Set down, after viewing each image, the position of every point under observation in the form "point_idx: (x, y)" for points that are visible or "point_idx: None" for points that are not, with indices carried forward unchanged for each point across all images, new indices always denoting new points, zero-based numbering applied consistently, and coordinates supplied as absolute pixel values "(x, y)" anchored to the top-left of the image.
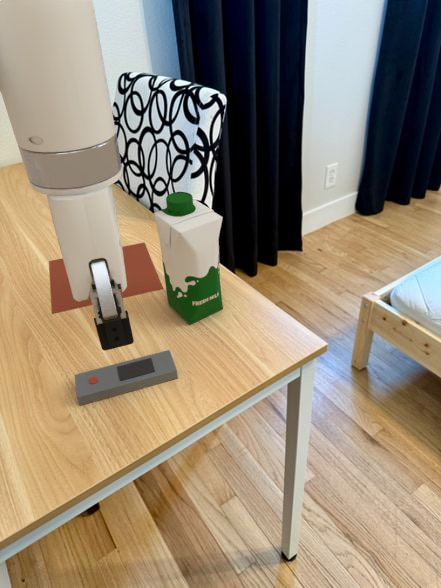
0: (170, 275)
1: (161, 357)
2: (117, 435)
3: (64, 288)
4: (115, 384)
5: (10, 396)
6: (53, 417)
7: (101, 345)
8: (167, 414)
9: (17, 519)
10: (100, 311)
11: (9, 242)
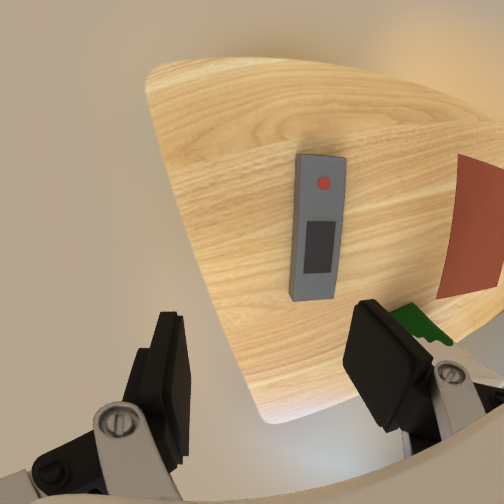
0: (428, 347)
1: (325, 286)
2: (224, 198)
3: (484, 179)
4: (303, 213)
5: (345, 72)
6: (289, 117)
7: (158, 320)
8: (234, 269)
9: (151, 75)
10: (40, 488)
11: None
